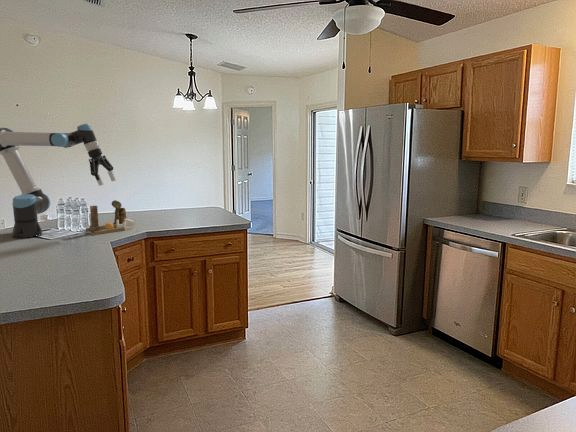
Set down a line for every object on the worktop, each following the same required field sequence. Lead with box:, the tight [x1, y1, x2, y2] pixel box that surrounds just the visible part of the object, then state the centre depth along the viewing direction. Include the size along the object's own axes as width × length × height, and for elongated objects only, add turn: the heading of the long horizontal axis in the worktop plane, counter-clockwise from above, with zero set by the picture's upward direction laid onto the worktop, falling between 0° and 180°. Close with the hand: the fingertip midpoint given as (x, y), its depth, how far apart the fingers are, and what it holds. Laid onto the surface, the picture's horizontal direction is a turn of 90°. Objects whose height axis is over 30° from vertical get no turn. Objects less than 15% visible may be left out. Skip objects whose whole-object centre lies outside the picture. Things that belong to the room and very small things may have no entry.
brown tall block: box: [88, 205, 101, 233], centre depth 260 cm, size 4×7×16 cm, turn 44°
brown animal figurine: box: [111, 200, 128, 225], centre depth 287 cm, size 9×14×18 cm, turn 2°
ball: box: [104, 222, 115, 230], centre depth 267 cm, size 5×5×5 cm
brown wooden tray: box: [85, 218, 138, 237], centre depth 268 cm, size 25×17×6 cm
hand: (107, 183), depth 269 cm, fingers open, 13 cm apart
